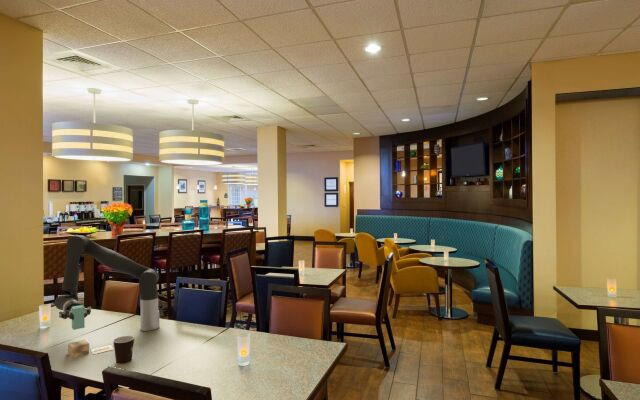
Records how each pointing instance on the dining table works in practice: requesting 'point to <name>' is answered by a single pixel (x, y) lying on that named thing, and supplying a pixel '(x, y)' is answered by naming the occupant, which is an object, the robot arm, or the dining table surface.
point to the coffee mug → (123, 349)
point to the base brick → (78, 348)
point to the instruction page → (102, 349)
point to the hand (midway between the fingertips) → (79, 316)
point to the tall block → (78, 317)
